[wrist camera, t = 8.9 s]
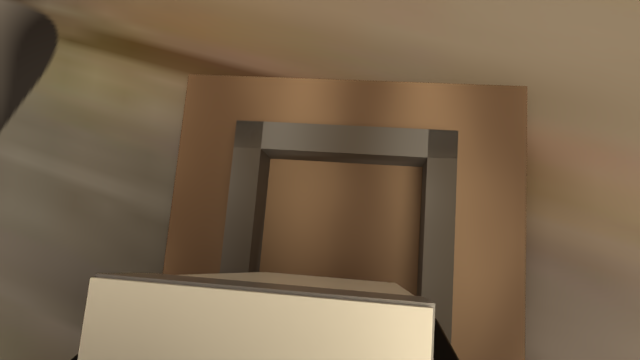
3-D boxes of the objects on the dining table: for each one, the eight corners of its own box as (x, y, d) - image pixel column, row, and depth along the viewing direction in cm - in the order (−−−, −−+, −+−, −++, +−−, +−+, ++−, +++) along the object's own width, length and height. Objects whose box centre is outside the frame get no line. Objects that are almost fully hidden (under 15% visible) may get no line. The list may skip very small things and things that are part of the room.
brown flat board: (129, 566, 21) (96, 606, 18) (192, 78, 24) (172, 57, 22) (518, 629, 19) (539, 683, 16) (523, 90, 23) (542, 68, 20)
